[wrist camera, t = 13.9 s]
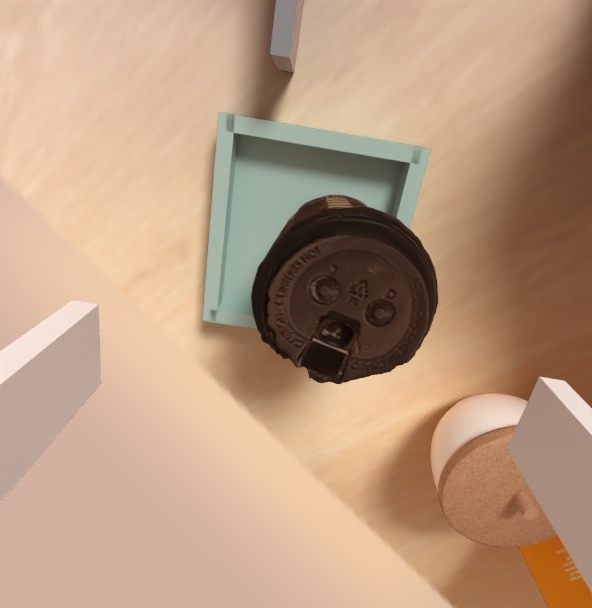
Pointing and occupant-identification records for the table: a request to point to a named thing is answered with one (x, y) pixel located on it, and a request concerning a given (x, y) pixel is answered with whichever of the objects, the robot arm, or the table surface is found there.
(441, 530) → the table surface
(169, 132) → the table surface
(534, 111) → the table surface
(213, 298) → the tray
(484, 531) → the lidded jar
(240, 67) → the table surface
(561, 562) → the cereal box
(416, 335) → the coffee cup
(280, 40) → the bay
